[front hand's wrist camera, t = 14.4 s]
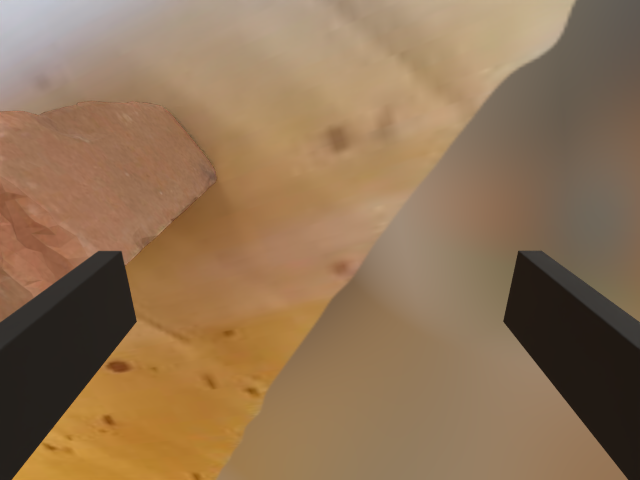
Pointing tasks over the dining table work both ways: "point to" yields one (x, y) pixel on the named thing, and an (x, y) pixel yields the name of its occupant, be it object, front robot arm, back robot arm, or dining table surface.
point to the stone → (88, 188)
